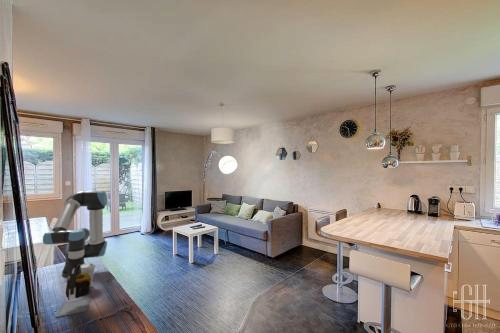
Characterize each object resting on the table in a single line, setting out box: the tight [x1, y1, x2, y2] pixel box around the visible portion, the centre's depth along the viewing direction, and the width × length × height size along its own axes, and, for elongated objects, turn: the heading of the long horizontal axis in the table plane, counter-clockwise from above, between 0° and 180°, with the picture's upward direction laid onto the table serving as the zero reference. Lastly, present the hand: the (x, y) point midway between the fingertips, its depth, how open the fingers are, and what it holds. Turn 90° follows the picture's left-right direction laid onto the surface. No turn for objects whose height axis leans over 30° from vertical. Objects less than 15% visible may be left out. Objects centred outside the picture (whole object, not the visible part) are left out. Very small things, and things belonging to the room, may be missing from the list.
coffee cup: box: [81, 262, 96, 289], centre depth 155 cm, size 10×10×15 cm
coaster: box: [54, 297, 92, 319], centre depth 133 cm, size 14×14×1 cm
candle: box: [65, 272, 91, 301], centre depth 134 cm, size 10×10×10 cm
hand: (74, 294), depth 133 cm, fingers closed on candle, 12 cm apart
